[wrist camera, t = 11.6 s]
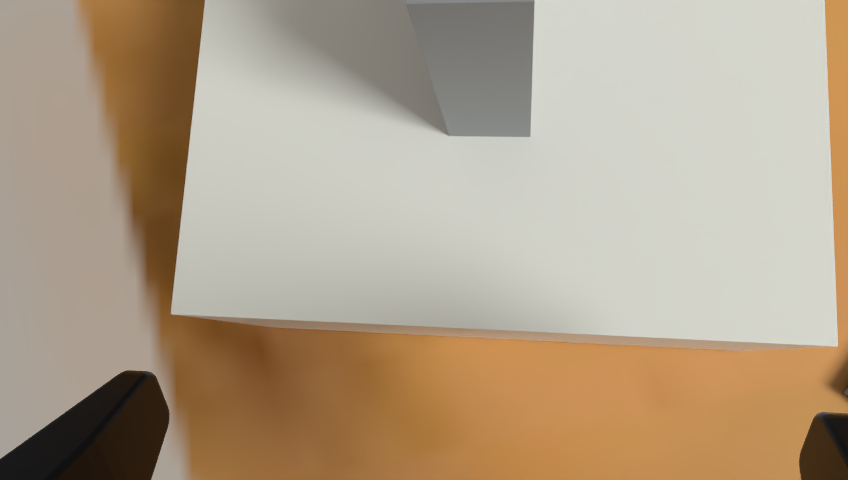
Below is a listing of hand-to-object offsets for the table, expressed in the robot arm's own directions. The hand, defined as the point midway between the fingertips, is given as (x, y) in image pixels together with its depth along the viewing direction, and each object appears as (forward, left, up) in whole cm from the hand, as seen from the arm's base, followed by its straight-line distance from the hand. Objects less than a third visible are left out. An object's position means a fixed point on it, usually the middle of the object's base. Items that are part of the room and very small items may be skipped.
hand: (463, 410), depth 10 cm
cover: (+8, +1, -10) cm, 12 cm away
